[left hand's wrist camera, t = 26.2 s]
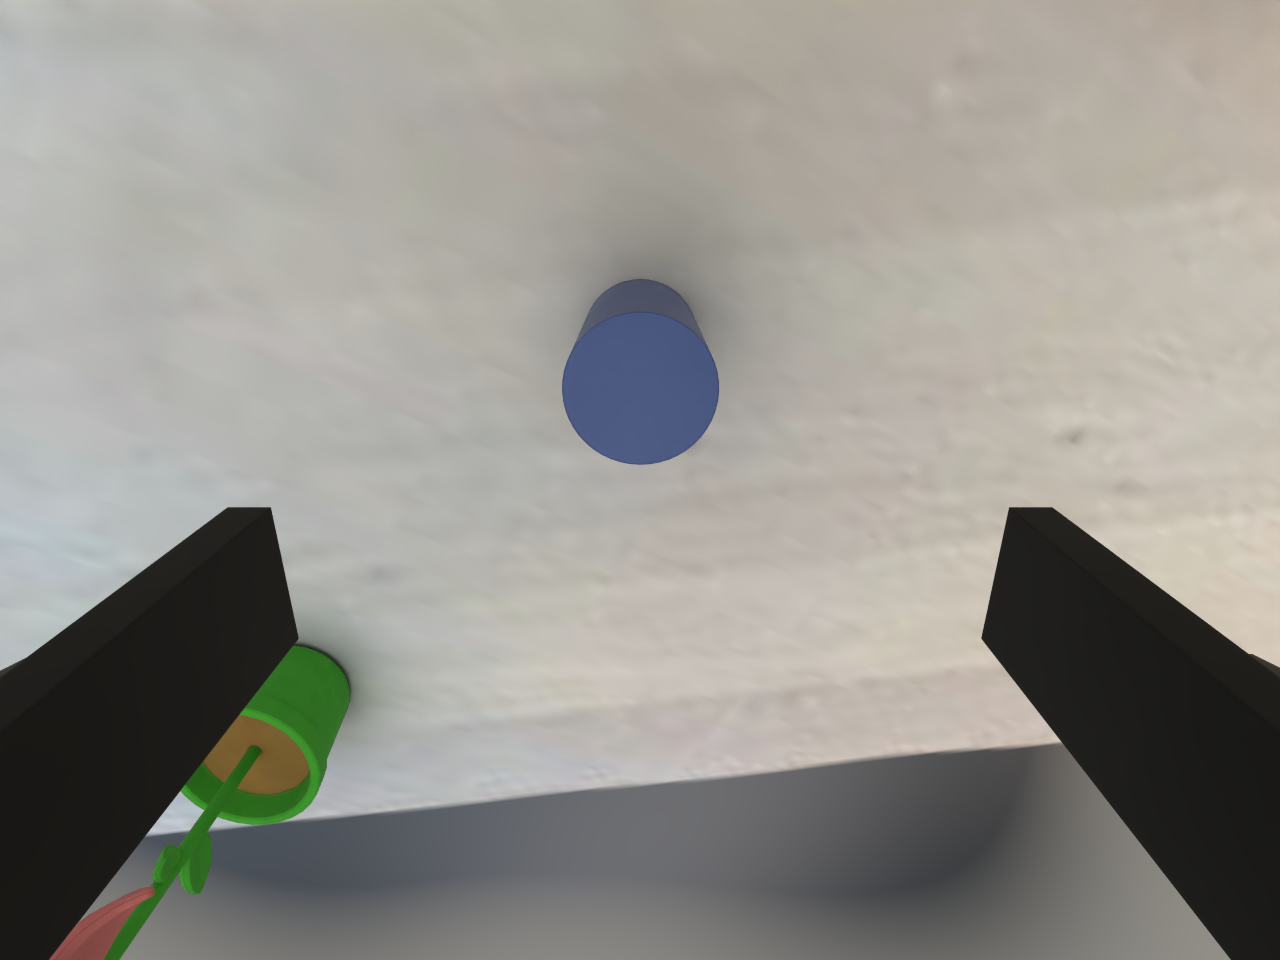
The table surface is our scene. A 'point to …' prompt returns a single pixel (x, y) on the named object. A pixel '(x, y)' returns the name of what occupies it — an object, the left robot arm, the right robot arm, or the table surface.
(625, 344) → the can
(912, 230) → the table surface
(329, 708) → the potted flower
